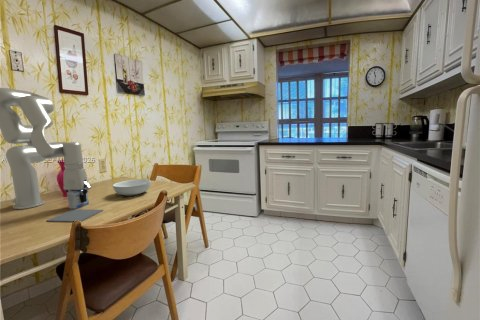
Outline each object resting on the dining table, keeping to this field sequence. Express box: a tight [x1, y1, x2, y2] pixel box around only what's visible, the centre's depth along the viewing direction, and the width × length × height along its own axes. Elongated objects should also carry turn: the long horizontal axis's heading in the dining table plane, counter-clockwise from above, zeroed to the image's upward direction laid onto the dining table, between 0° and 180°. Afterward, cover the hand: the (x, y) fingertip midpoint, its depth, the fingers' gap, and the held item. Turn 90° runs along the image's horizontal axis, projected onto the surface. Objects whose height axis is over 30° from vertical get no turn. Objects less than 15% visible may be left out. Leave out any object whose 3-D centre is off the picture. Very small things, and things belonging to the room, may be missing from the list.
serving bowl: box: [112, 178, 152, 197], centre depth 142 cm, size 21×21×7 cm
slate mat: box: [45, 208, 104, 223], centre depth 107 cm, size 16×14×1 cm
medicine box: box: [66, 190, 90, 210], centre depth 120 cm, size 8×4×9 cm, turn 168°
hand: (78, 201), depth 121 cm, fingers open, 5 cm apart
